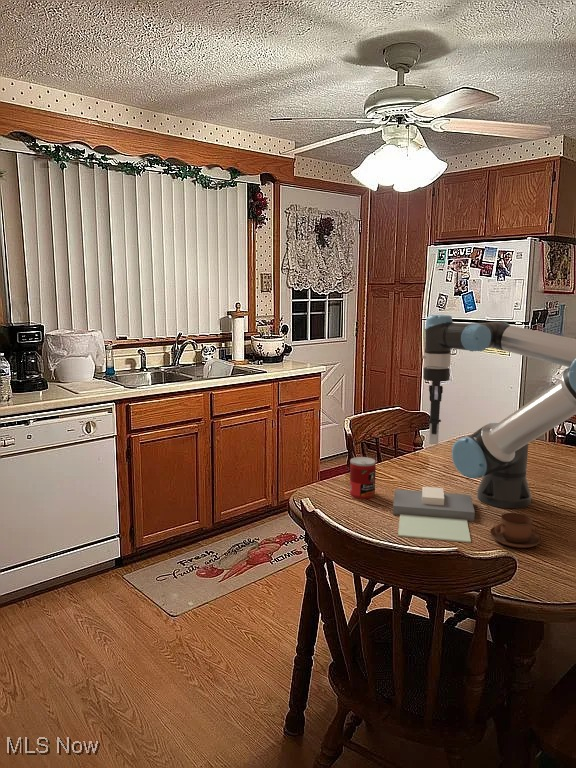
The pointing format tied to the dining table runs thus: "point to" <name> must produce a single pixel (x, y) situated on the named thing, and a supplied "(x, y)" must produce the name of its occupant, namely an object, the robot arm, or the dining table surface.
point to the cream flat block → (432, 496)
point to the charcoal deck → (452, 508)
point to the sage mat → (434, 528)
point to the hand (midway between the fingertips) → (433, 443)
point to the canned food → (362, 477)
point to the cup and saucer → (516, 531)
